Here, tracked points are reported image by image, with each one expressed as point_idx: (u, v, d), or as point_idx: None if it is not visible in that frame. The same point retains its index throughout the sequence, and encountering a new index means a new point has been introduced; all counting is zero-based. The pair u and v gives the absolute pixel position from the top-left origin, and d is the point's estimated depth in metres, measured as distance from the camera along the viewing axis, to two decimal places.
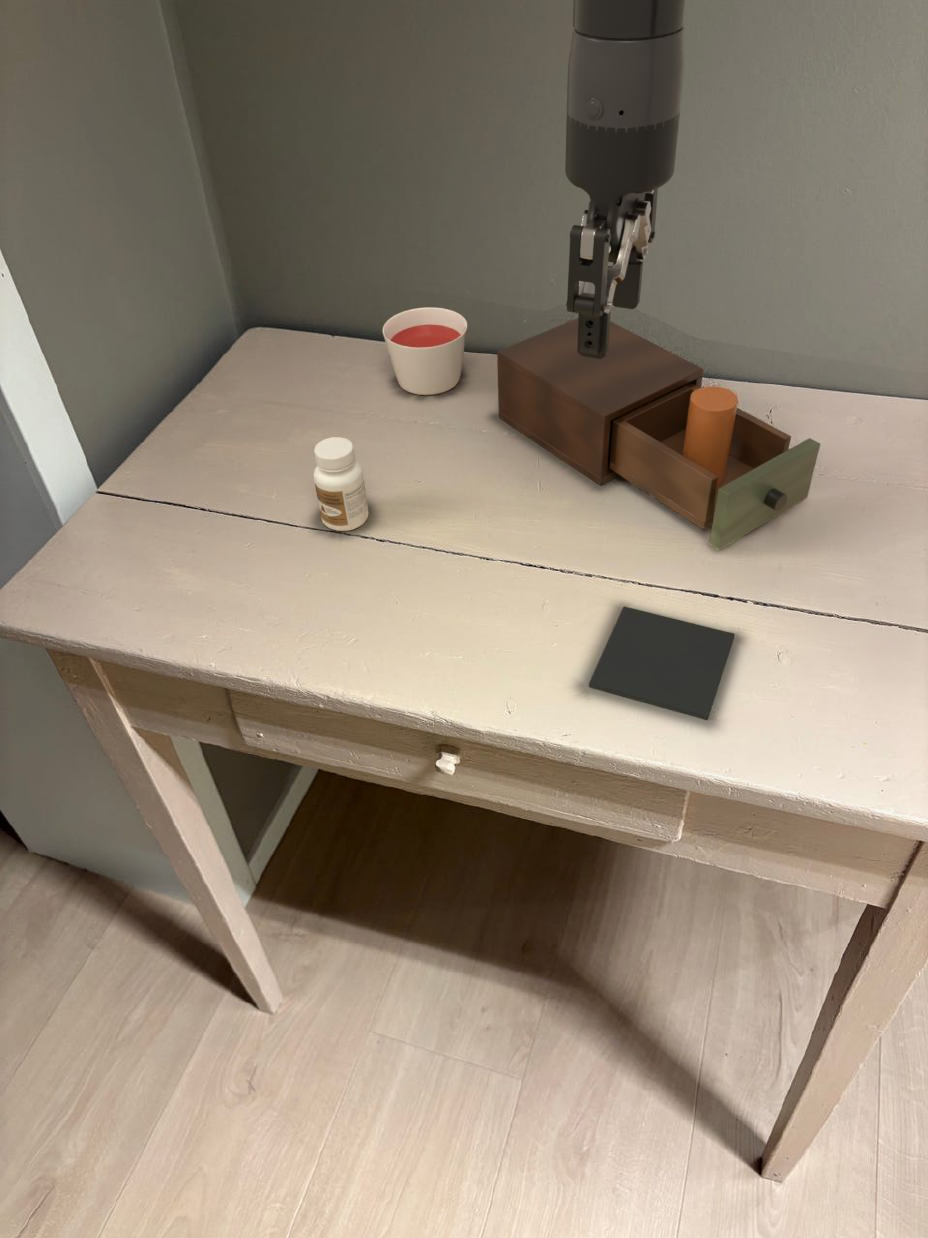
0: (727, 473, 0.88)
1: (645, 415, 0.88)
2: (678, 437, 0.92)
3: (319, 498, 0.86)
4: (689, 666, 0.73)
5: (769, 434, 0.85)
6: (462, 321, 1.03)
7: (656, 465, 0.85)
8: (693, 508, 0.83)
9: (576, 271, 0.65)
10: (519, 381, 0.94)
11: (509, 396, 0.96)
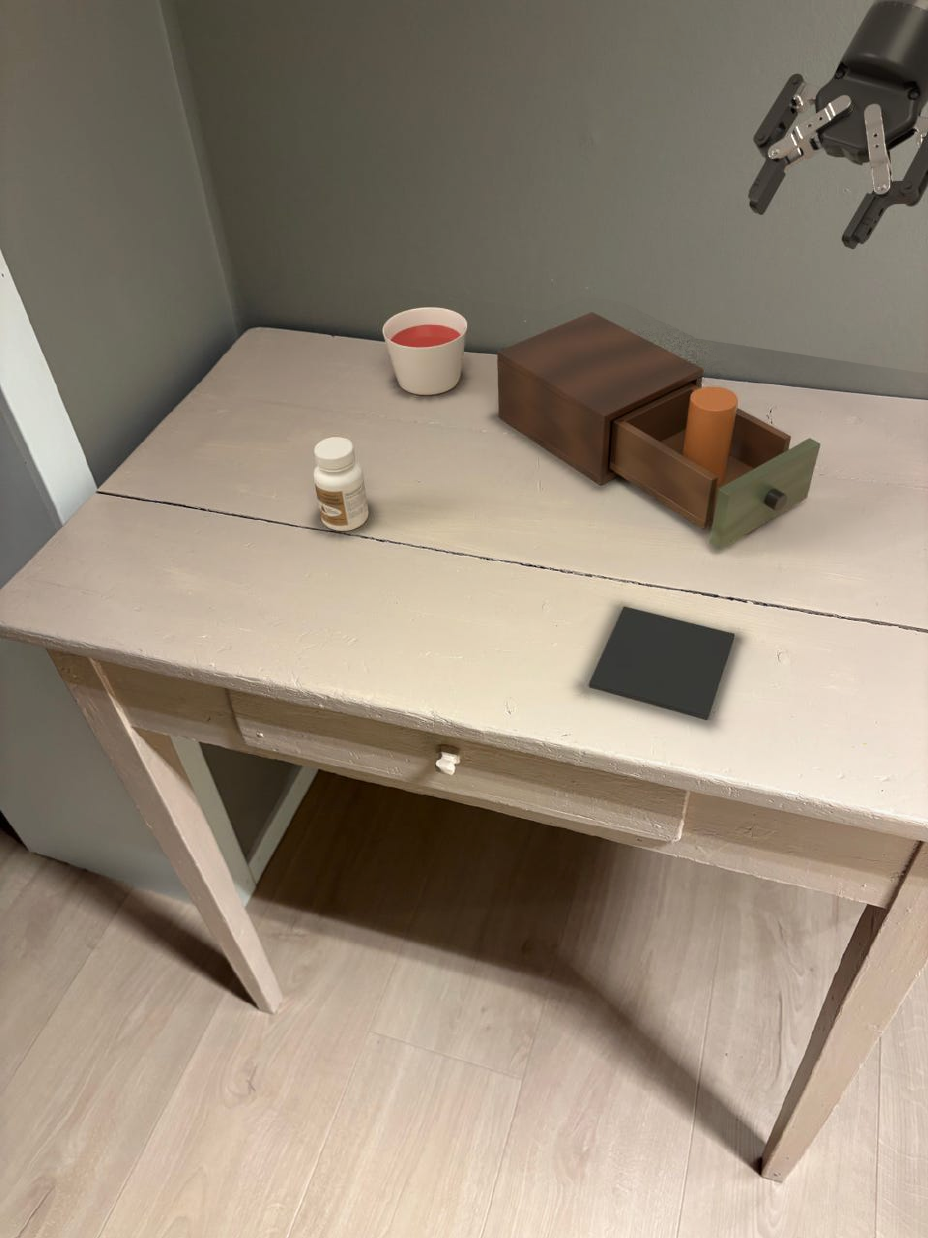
0: (727, 473, 0.88)
1: (645, 415, 0.88)
2: (678, 437, 0.92)
3: (319, 498, 0.86)
4: (689, 666, 0.73)
5: (769, 434, 0.85)
6: (462, 321, 1.03)
7: (656, 465, 0.85)
8: (693, 508, 0.83)
9: None
10: (519, 381, 0.94)
11: (509, 396, 0.96)
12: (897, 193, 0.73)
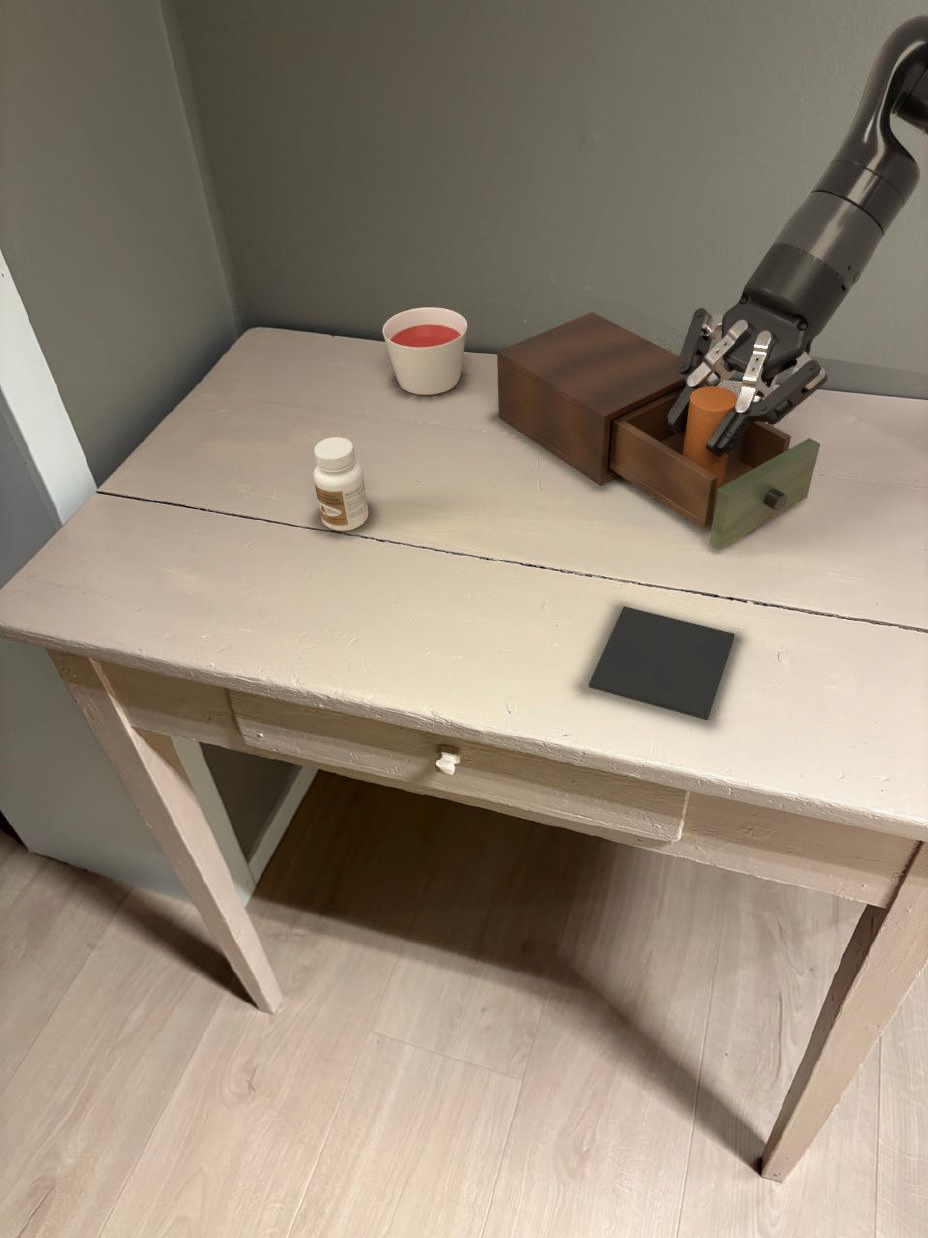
0: (727, 473, 0.88)
1: (645, 415, 0.88)
2: (678, 437, 0.92)
3: (319, 498, 0.86)
4: (689, 666, 0.73)
5: (769, 434, 0.85)
6: (462, 321, 1.03)
7: (656, 465, 0.85)
8: (693, 508, 0.83)
9: None
10: (519, 381, 0.94)
11: (509, 396, 0.96)
12: (755, 413, 0.80)
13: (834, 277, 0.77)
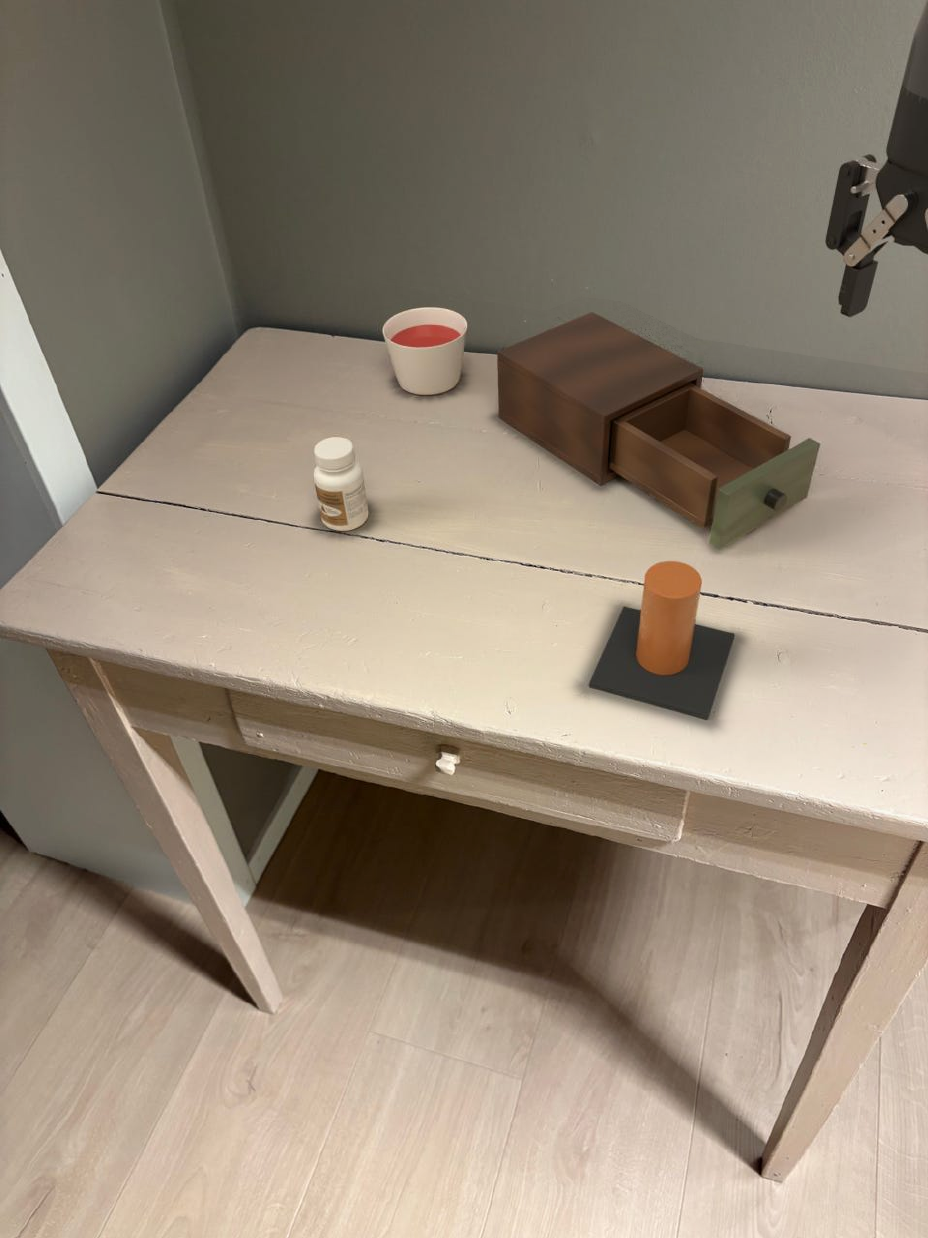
0: (727, 473, 0.88)
1: (645, 415, 0.88)
2: (678, 437, 0.92)
3: (319, 498, 0.86)
4: (689, 666, 0.73)
5: (769, 434, 0.85)
6: (462, 321, 1.03)
7: (656, 465, 0.85)
8: (693, 508, 0.83)
9: None
10: (519, 381, 0.94)
11: (509, 396, 0.96)
12: None
13: None
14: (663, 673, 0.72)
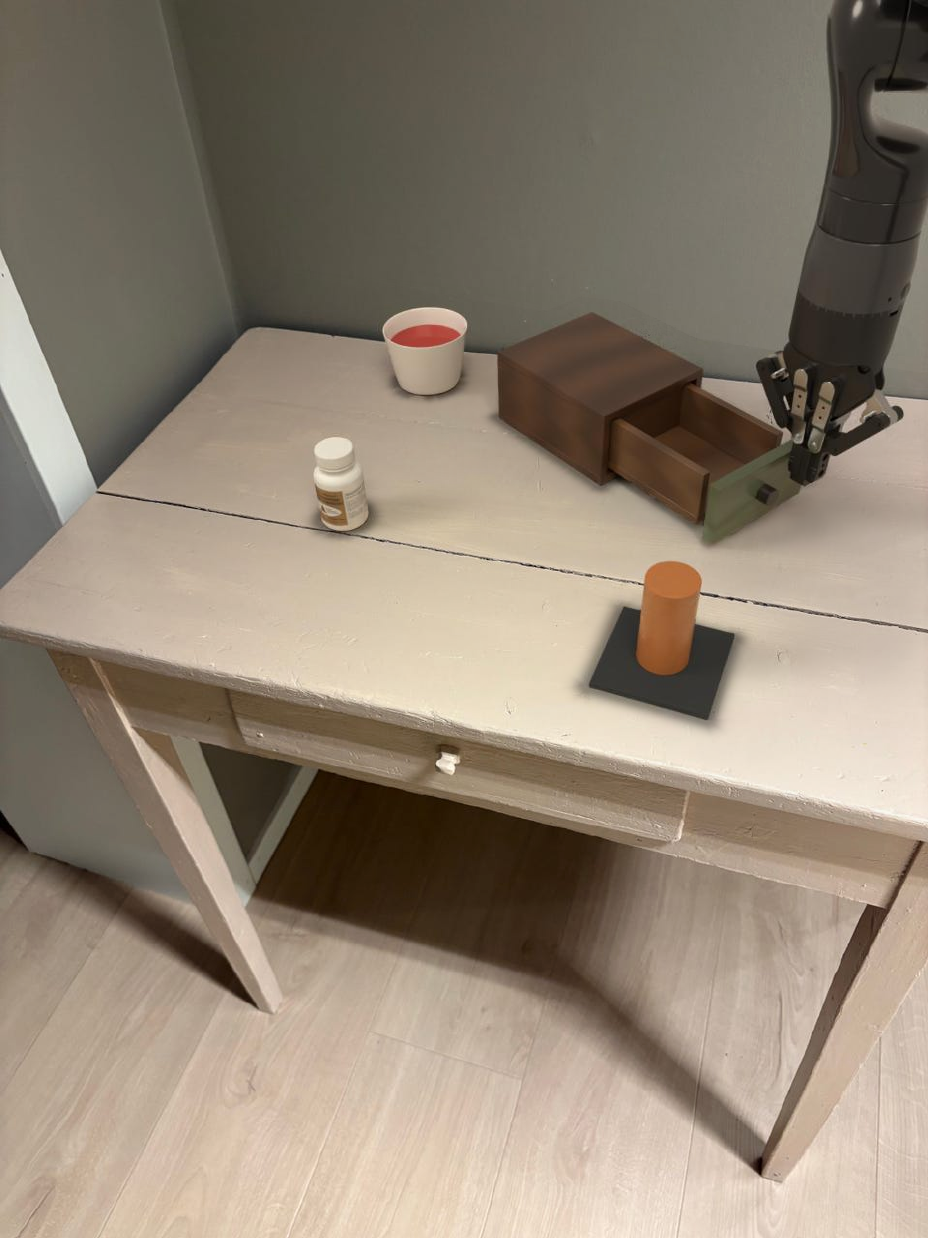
0: (720, 469, 0.88)
1: (638, 411, 0.89)
2: (671, 434, 0.93)
3: (319, 498, 0.86)
4: (689, 666, 0.73)
5: (761, 430, 0.85)
6: (462, 321, 1.03)
7: (649, 461, 0.85)
8: (686, 503, 0.84)
9: None
10: (519, 381, 0.94)
11: (509, 396, 0.96)
12: None
13: (875, 318, 0.68)
14: (663, 673, 0.72)
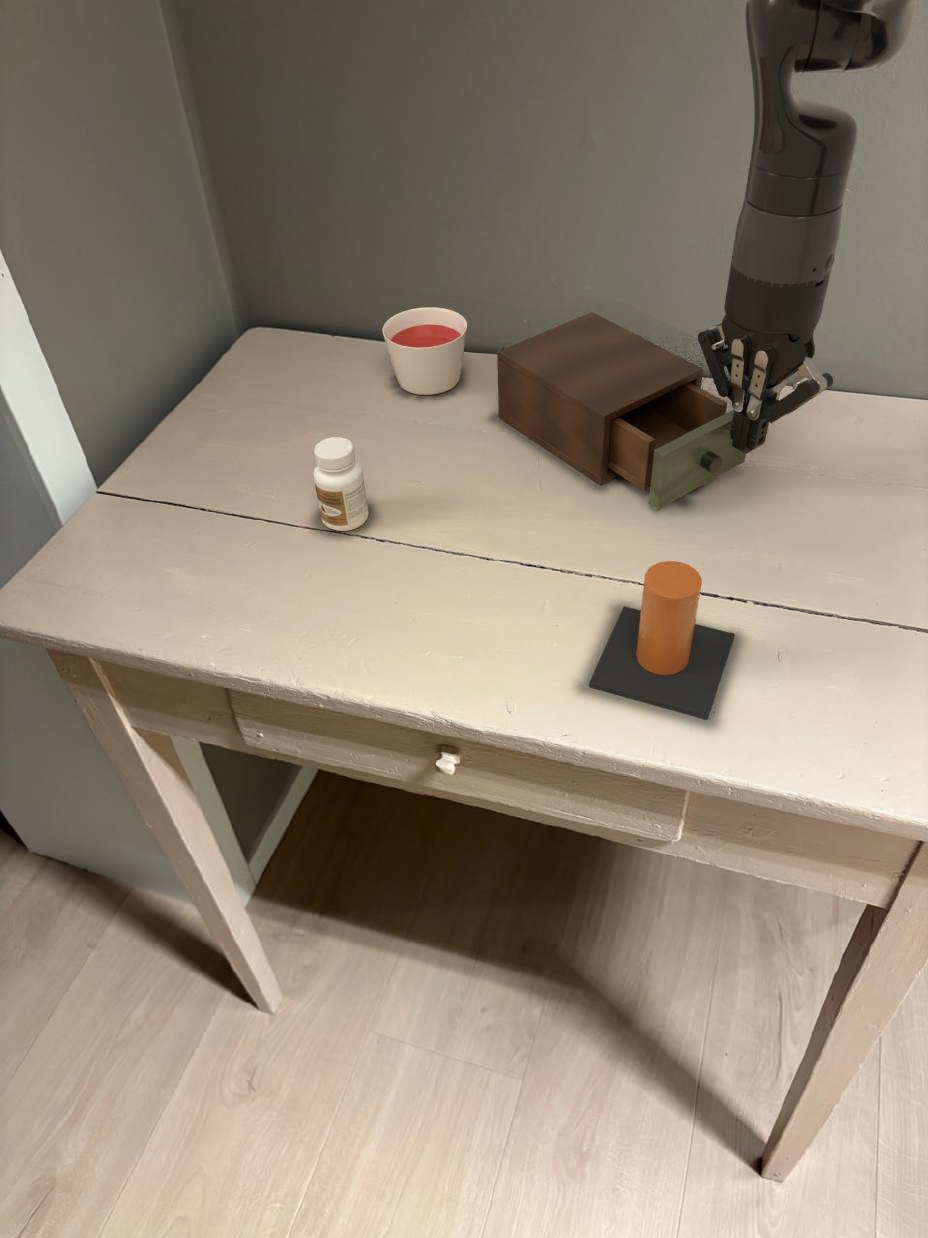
0: (669, 439, 0.92)
1: None
2: None
3: (319, 498, 0.86)
4: (689, 666, 0.73)
5: (707, 401, 0.89)
6: (462, 321, 1.03)
7: None
8: (634, 470, 0.88)
9: None
10: (519, 381, 0.94)
11: (509, 396, 0.96)
12: (767, 416, 0.81)
13: (802, 288, 0.72)
14: (663, 673, 0.72)
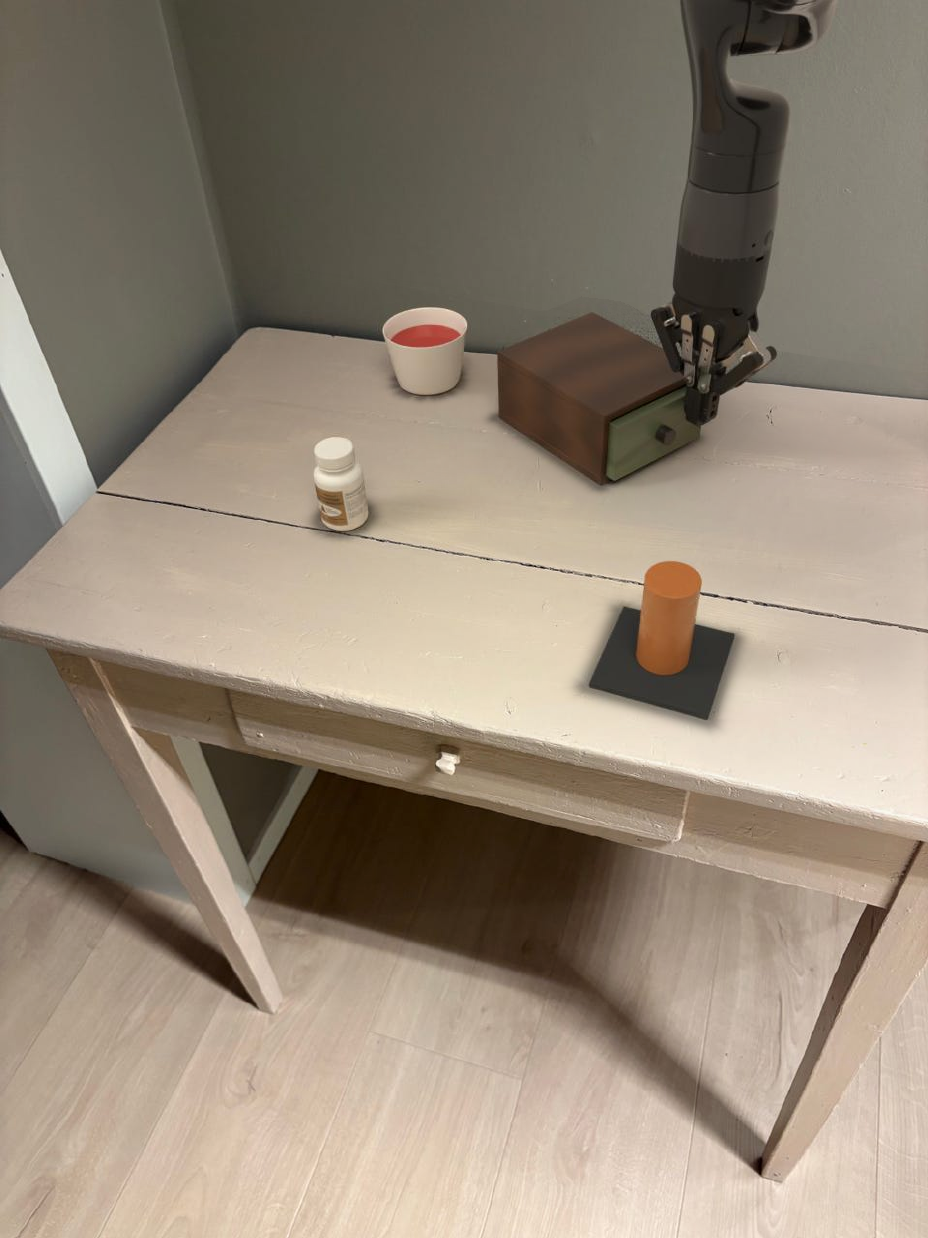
0: None
1: None
2: None
3: (319, 498, 0.86)
4: (689, 666, 0.73)
5: None
6: (462, 321, 1.03)
7: None
8: None
9: None
10: (519, 381, 0.94)
11: (509, 396, 0.96)
12: None
13: (742, 263, 0.75)
14: (663, 673, 0.72)
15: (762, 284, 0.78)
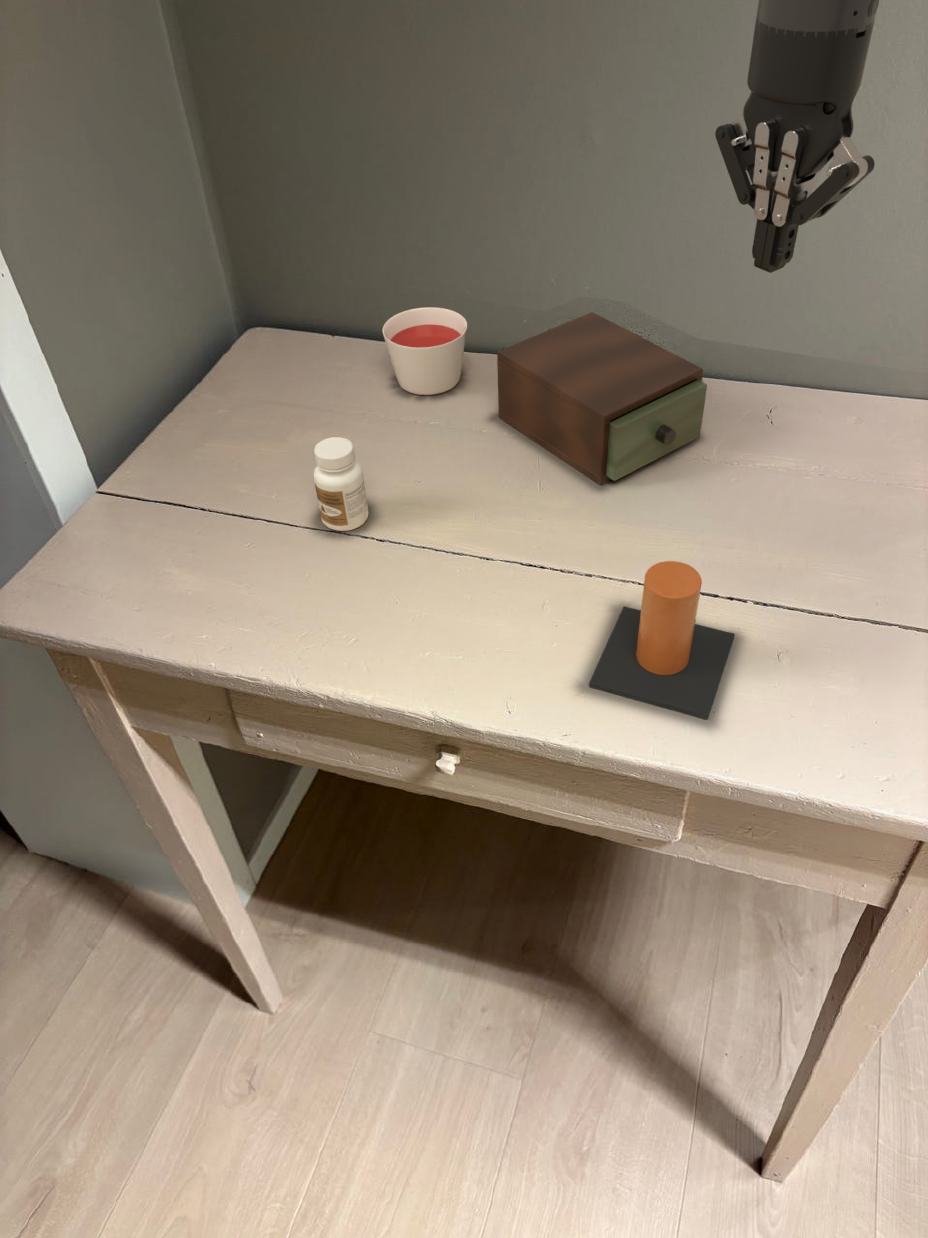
0: None
1: None
2: None
3: (319, 498, 0.86)
4: (689, 666, 0.73)
5: None
6: (462, 321, 1.03)
7: None
8: None
9: None
10: (519, 381, 0.94)
11: (509, 396, 0.96)
12: (796, 220, 0.71)
13: (840, 38, 0.61)
14: (663, 673, 0.72)
15: (860, 73, 0.64)
